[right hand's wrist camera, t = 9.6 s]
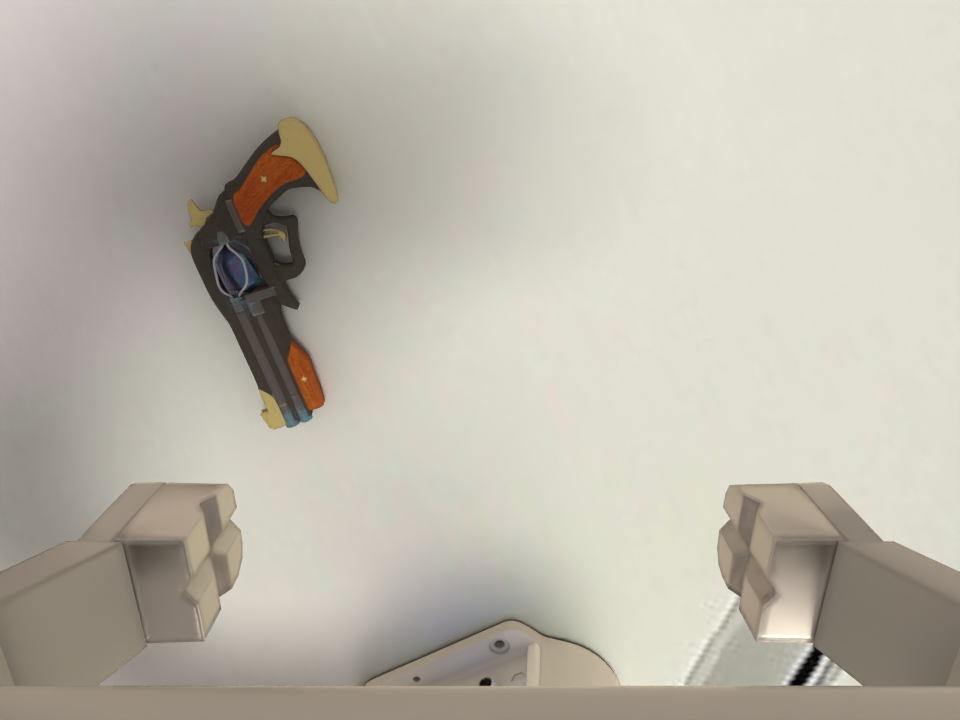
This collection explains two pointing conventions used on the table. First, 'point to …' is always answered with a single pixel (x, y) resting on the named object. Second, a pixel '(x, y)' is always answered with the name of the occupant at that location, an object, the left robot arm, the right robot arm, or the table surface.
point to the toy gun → (264, 267)
